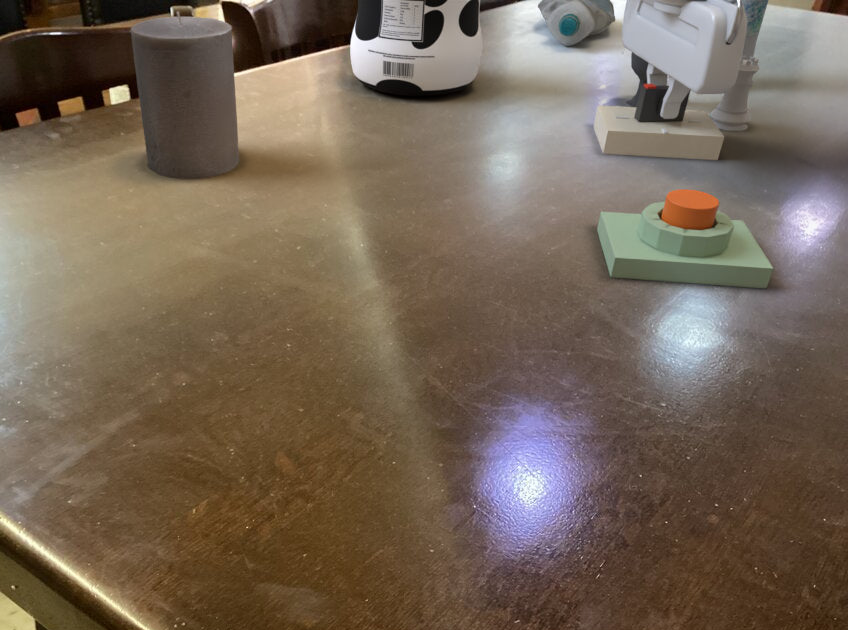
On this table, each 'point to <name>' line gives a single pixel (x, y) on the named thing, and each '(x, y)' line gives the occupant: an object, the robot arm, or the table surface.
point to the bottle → (753, 24)
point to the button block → (682, 250)
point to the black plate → (655, 104)
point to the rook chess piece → (736, 99)
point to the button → (690, 209)
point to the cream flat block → (657, 134)
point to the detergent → (576, 18)
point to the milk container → (416, 45)
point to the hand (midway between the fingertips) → (660, 112)
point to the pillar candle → (187, 95)
